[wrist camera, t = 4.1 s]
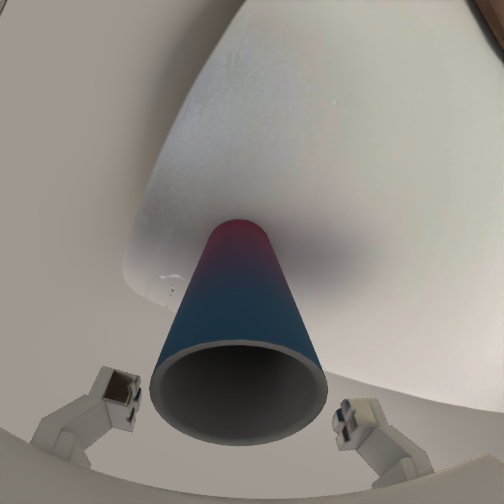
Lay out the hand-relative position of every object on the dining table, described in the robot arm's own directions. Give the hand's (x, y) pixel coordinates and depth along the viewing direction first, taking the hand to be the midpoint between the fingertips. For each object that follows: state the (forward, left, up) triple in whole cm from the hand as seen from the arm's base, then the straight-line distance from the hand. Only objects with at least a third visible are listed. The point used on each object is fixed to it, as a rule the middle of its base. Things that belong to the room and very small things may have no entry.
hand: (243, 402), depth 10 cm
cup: (0, 0, -15) cm, 15 cm away
